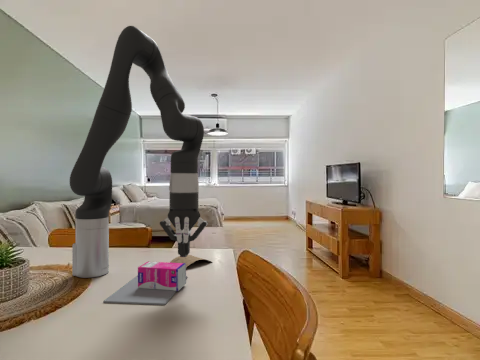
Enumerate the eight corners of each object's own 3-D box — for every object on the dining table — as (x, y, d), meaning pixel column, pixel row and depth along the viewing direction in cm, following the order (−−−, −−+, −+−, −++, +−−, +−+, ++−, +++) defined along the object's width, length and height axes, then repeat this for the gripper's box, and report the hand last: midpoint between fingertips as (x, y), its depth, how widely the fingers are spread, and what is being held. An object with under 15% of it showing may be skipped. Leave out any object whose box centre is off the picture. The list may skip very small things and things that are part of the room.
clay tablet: (182, 273, 99) (182, 264, 99) (163, 266, 105) (163, 258, 105) (215, 263, 110) (215, 255, 110) (196, 258, 116) (196, 251, 116)
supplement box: (178, 291, 80) (137, 288, 82) (186, 283, 85) (148, 281, 88) (177, 269, 80) (136, 267, 82) (186, 262, 85) (147, 260, 88)
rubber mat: (103, 302, 74) (103, 300, 74) (138, 276, 94) (138, 274, 94) (165, 305, 72) (165, 303, 72) (187, 277, 92) (187, 276, 92)
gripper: (211, 190, 85) (211, 253, 85) (164, 189, 86) (163, 252, 86) (206, 191, 78) (205, 261, 78) (154, 191, 79) (154, 259, 79)
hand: (183, 256), depth 82 cm, fingers closed
